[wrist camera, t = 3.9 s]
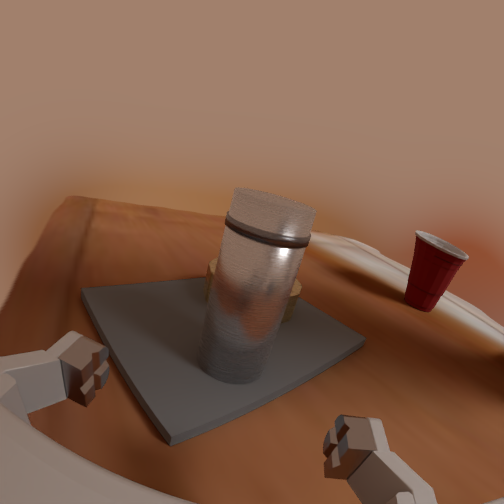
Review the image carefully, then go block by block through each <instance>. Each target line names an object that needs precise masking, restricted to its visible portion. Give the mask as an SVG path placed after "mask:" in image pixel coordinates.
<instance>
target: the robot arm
mask: <svg viewBox="0 0 504 504" xmlns="http://www.w3.org/2000/svg"><path fill="white" fill-rule="evenodd" d="M108 357H109V349H108V348H107V347H106V346H104V345H102V344H100V343H98V342H96V341H94V340H91V339H89V338H87V337H85V336H83V335H81V334H79V333H77V332H75V331H70V332H68V333H67V334H66V335H65V336H63V337H62V338H61V339H60V340H59V341H57V342H56V343H55V344H54V345H53V346H52V347H50V348H49V349H48V350H47V351H44V350H39V351H33V352H27V353H21V354H15V355H9V356H3V357H0V504H198V503H194V502H191V501H187V500H184V499H181V498H178V497H174V496H171V495H168V494H165V493H163V492H160V491H157V490H154V489H151V488H149V487H146V486H144V485H141V484H139V483H136V482H134V481H131V480H129V479H127V478H124V477H122V476H120V475H117V474H115V473H113V472H111V471H109V470H107V469H105V468H103V467H100V466H98V465H96V464H94V463H93V462H91V461H89V460H87V459H85V458H83V457H81V456H79V455H78V454H76V453H74V452H72V451H70V450H69V449H67V448H65V447H64V446H62V445H60V444H59V443H57V442H55V441H54V440H52V439H50V438H49V437H47V436H46V435H44V434H43V433H41V432H40V431H38V430H37V429H35V428H34V427H32V426H31V423H30V421H29V418H28V415H27V414H28V413H31V412H33V411H36V410H39V409H41V408H44V407H47V406H49V405H52V404H55V403H57V402H60V401H62V400H65V399H67V398H69V399H70V400H72V401H74V402H76V403H78V404H80V405H82V406H84V407H86V408H87V406H88V405H89V404H90V402H91V401H92V400H93V399H94V397H95V390H99V389H102V387H103V386H104V385H105V383H106V381H107V378H108V375H109V365H108V363H107V361H106V359H107V358H108ZM66 397H67V398H66ZM323 454H324V455H325V456H326V457H327V460H326V461H325V462H324V475H325V478H333V479H343V480H347V482H348V484H349V485H350V487H351V488H352V490H353V491H354V492H355V494H356V495H357V497H358V498H359V500H360V501H361V503H362V504H437V501H436V498H435V494H434V491H433V488H432V487H430V486H429V485H428V484H427V483H426V482H425V481H424V480H423V479H422V478H421V477H420V476H419V475H417V474H416V473H415V472H414V471H413V470H412V469H411V468H410V467H409V466H408V465H407V464H406V463H405V462H404V461H403V460H402V459H400V458H399V457H398V456H397V455H396V454H395V453H394V452H390V450H389V446H388V442H387V439H386V435H385V432H384V428H383V425H382V421H381V420H380V419H377V418H365V417H356V416H348V415H340V416H338V417H337V419H336V420H335V427H334V428H332V429H330V430H329V431H328V433H327V435H326V437H325V440H324V443H323ZM483 504H504V497H502V498H499V499H496V500H493V501H490V502H486V503H483Z"/></svg>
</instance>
